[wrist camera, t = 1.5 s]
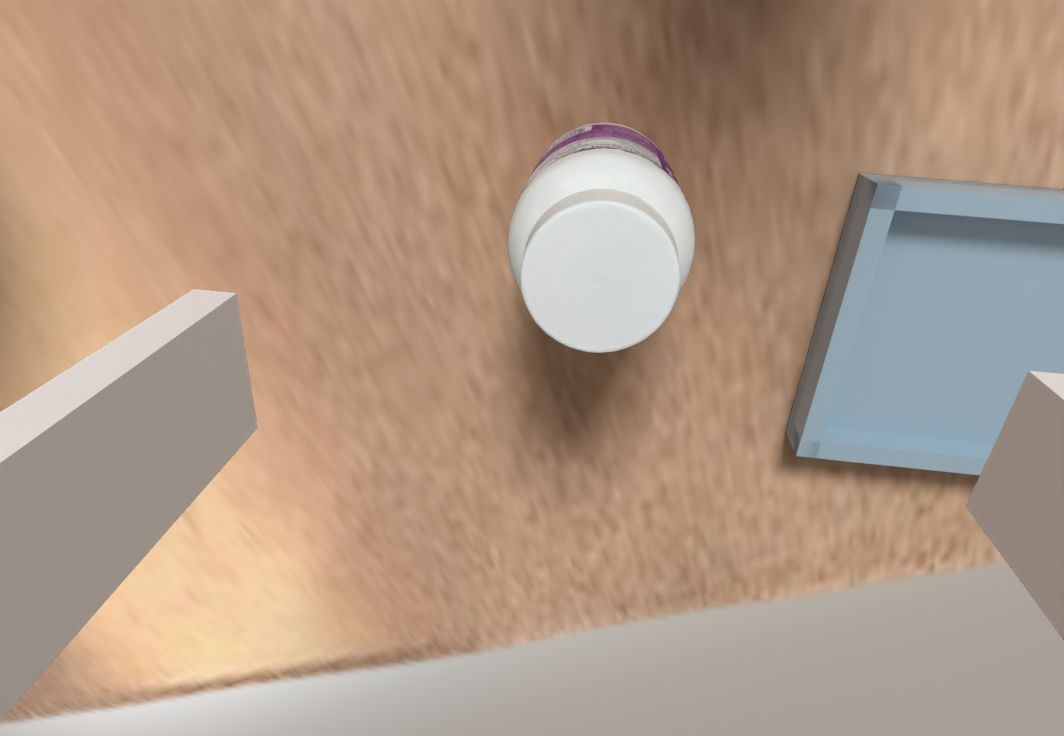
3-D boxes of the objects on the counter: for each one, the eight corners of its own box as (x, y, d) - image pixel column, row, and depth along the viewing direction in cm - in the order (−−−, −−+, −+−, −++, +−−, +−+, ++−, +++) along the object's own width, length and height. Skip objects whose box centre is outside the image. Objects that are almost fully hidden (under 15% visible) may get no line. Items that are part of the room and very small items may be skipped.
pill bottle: (663, 268, 26) (690, 389, 17) (527, 258, 26) (490, 371, 18) (684, 122, 23) (729, 180, 15) (534, 113, 24) (494, 165, 15)
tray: (785, 431, 29) (795, 455, 27) (859, 173, 24) (877, 184, 22) (1123, 466, 28) (1155, 493, 26) (1276, 206, 23) (1327, 220, 21)
